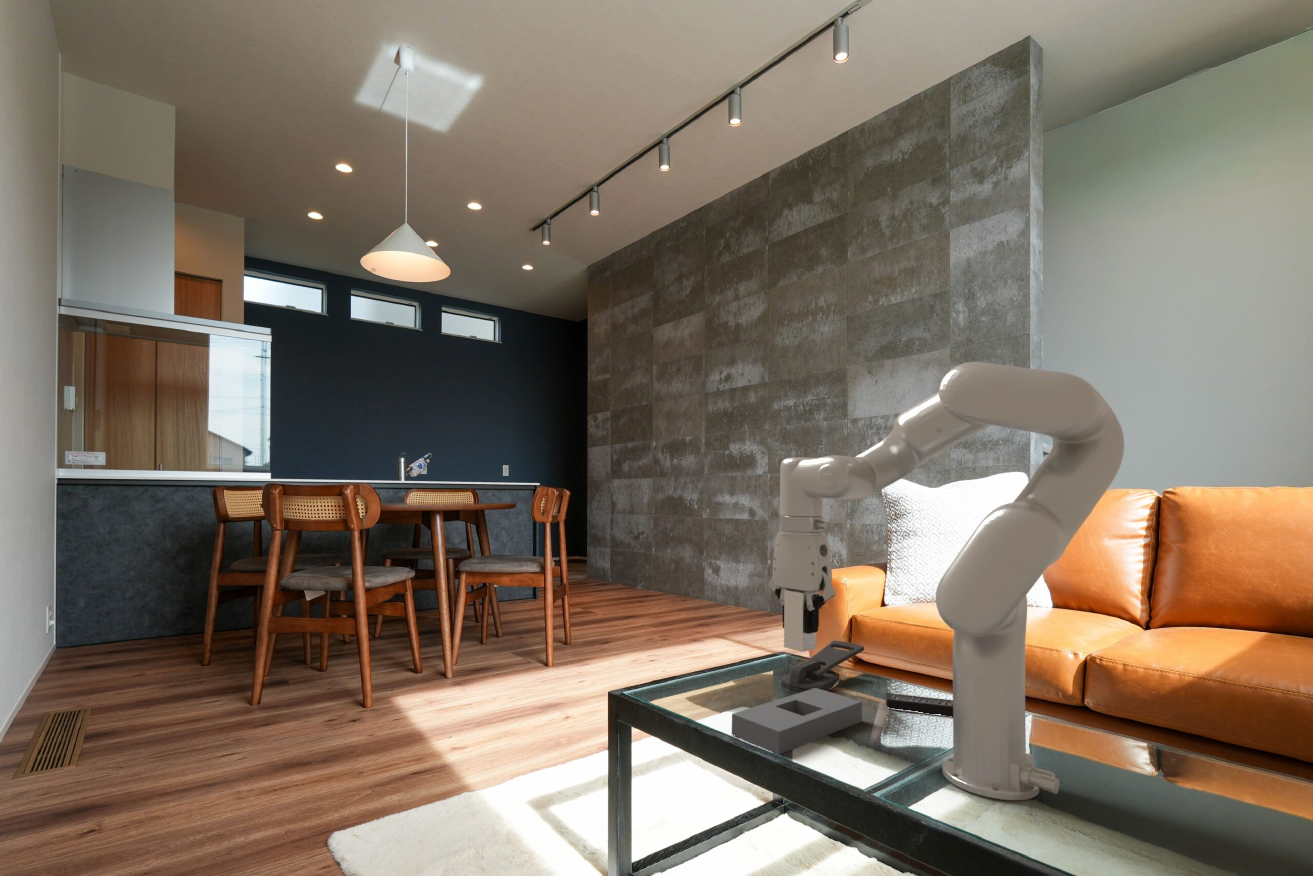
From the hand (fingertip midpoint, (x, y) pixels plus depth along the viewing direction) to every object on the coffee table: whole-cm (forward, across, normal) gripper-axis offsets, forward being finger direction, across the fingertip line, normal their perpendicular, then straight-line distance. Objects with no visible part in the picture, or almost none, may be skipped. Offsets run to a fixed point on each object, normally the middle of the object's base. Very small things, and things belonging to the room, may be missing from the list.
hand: (800, 629), depth 115 cm
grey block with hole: (+17, 0, 0) cm, 17 cm away
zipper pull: (+17, +14, -27) cm, 35 cm away
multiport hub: (+18, -9, -28) cm, 34 cm away
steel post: (+3, 0, 0) cm, 3 cm away
